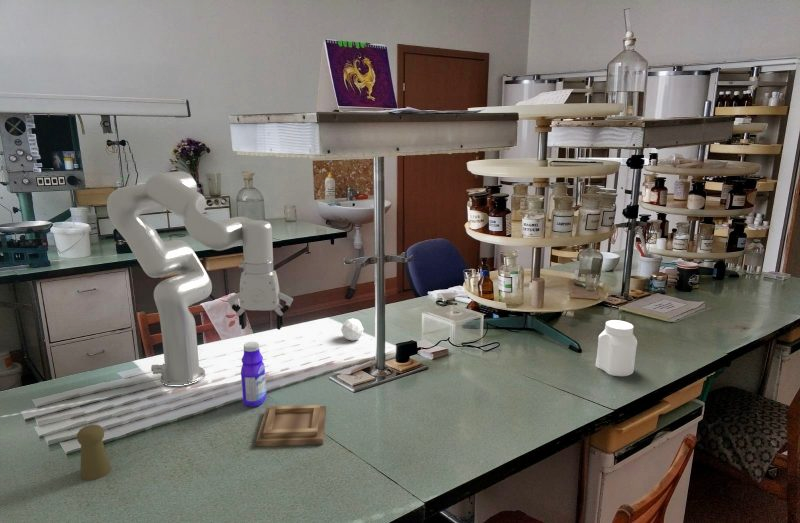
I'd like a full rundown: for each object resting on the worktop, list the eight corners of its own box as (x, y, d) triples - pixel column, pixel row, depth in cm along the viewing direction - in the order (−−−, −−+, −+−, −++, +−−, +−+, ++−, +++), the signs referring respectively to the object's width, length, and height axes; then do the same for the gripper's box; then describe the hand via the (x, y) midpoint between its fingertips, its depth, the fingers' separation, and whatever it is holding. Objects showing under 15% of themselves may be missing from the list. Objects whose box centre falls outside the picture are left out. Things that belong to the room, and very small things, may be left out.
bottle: (258, 409, 154) (255, 350, 149) (239, 407, 155) (235, 348, 151) (269, 397, 161) (267, 339, 156) (251, 394, 162) (247, 338, 157)
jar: (590, 363, 185) (594, 320, 182) (613, 359, 189) (618, 316, 185) (615, 378, 175) (620, 333, 171) (639, 373, 179) (645, 329, 175)
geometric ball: (355, 348, 201) (355, 337, 195) (337, 337, 204) (336, 325, 197) (367, 333, 206) (367, 321, 199) (349, 322, 208) (349, 310, 202)
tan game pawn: (87, 464, 129) (81, 421, 126) (115, 463, 130) (109, 420, 127) (75, 480, 123) (68, 436, 121) (104, 479, 124) (98, 435, 121)
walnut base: (256, 446, 137) (255, 436, 136) (266, 412, 152) (265, 403, 152) (322, 444, 138) (322, 434, 138) (326, 410, 154) (325, 401, 153)
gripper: (222, 270, 146) (226, 332, 151) (289, 271, 147) (291, 333, 151) (229, 263, 154) (233, 322, 158) (293, 264, 154) (295, 323, 158)
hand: (261, 327), depth 155 cm, fingers open, 9 cm apart
